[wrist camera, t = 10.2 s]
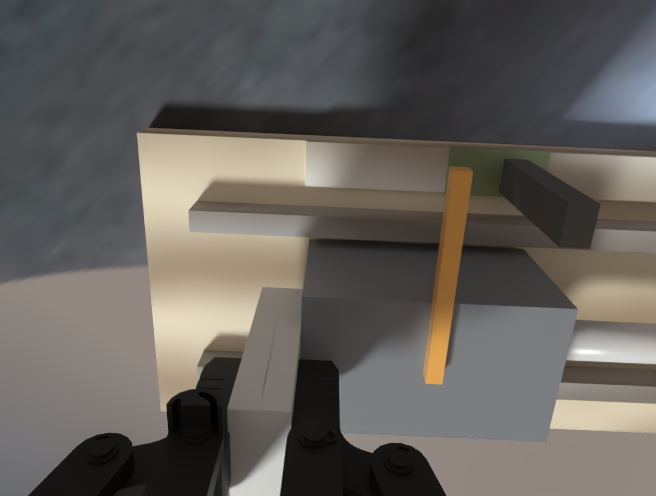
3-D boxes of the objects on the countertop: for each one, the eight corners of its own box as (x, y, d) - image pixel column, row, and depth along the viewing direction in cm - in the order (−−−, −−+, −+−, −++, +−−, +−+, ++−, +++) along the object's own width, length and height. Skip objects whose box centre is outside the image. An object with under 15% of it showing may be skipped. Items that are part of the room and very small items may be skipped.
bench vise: (148, 126, 20) (5, 190, 11) (945, 163, 20) (1406, 254, 11) (169, 394, 24) (77, 587, 16) (823, 422, 24) (1089, 630, 16)
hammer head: (504, 158, 18) (568, 202, 13) (527, 159, 18) (600, 204, 13) (499, 192, 19) (559, 247, 14) (521, 193, 19) (590, 248, 14)
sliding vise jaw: (312, 130, 18) (304, 163, 13) (773, 151, 18) (937, 192, 13) (305, 350, 22) (296, 443, 17) (698, 367, 22) (807, 465, 17)
